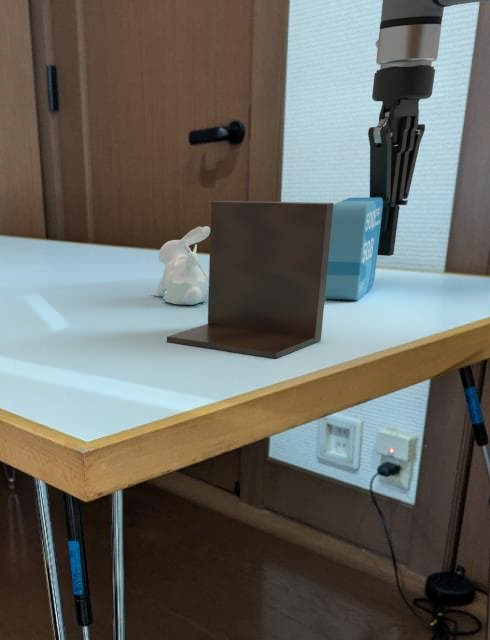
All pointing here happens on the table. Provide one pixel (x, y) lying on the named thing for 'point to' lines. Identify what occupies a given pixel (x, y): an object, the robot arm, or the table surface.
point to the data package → (353, 247)
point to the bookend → (265, 277)
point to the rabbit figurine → (183, 270)
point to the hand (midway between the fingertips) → (382, 254)
